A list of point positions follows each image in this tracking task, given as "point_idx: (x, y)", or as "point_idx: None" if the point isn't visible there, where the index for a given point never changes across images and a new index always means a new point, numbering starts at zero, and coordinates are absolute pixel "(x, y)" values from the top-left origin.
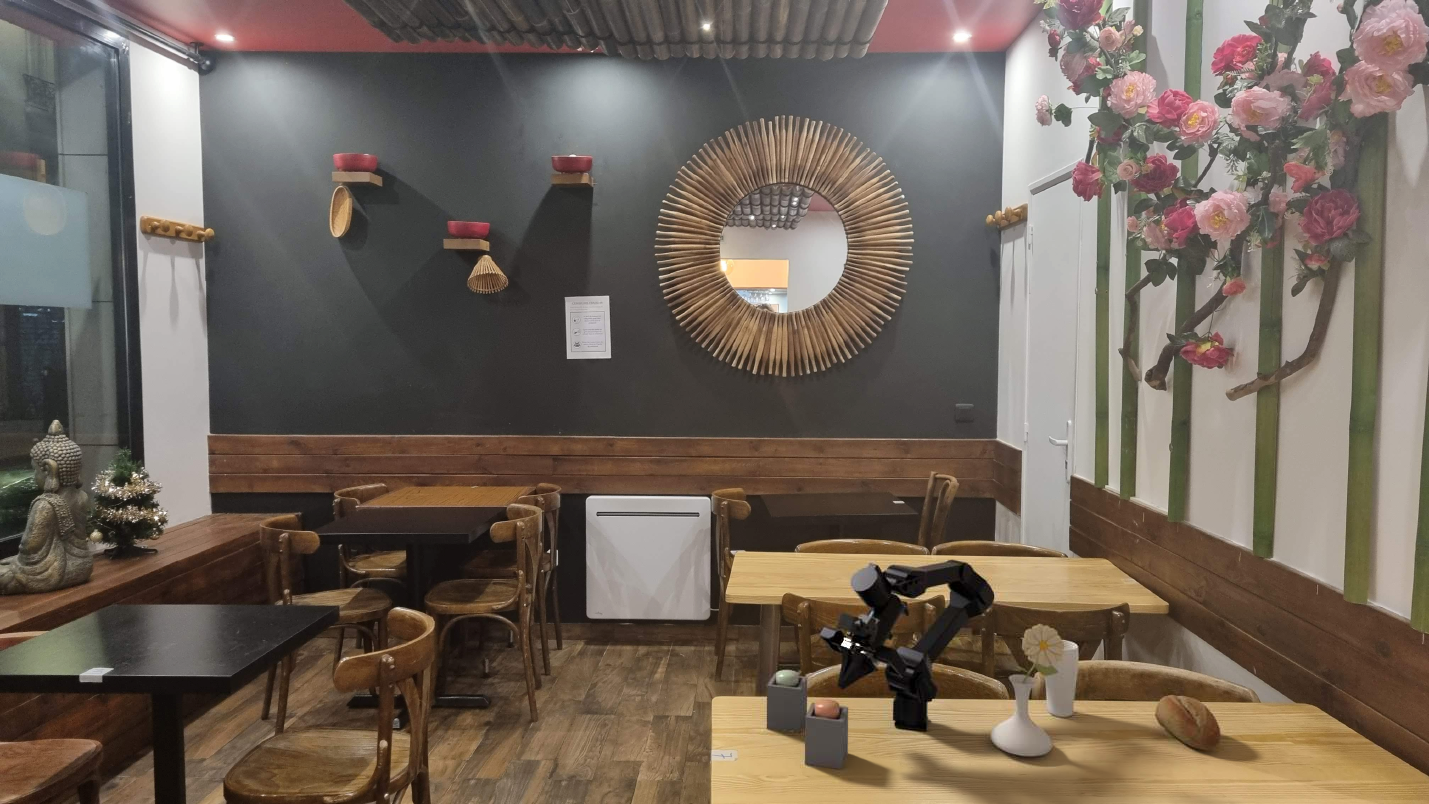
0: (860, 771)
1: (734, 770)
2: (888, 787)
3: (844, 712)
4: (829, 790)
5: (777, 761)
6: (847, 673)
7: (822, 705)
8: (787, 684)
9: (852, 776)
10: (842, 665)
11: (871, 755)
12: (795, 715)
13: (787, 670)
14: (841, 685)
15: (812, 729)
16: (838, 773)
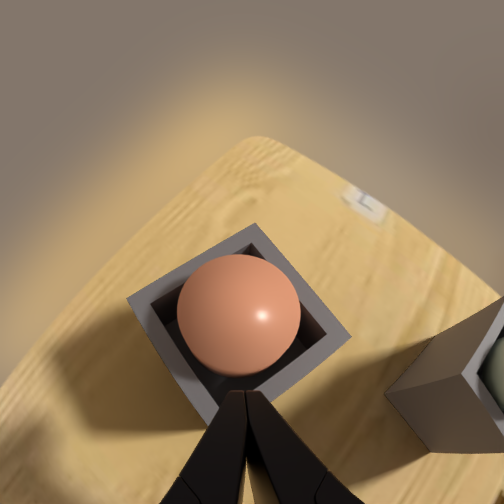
0: (128, 372)
1: (307, 174)
2: (47, 356)
3: (182, 377)
4: (125, 253)
5: (293, 253)
6: (217, 461)
7: (242, 282)
8: (499, 350)
9: (126, 337)
10: (331, 491)
11: (169, 464)
12: (417, 378)
13: None
14: (226, 396)
15: None
16: None
